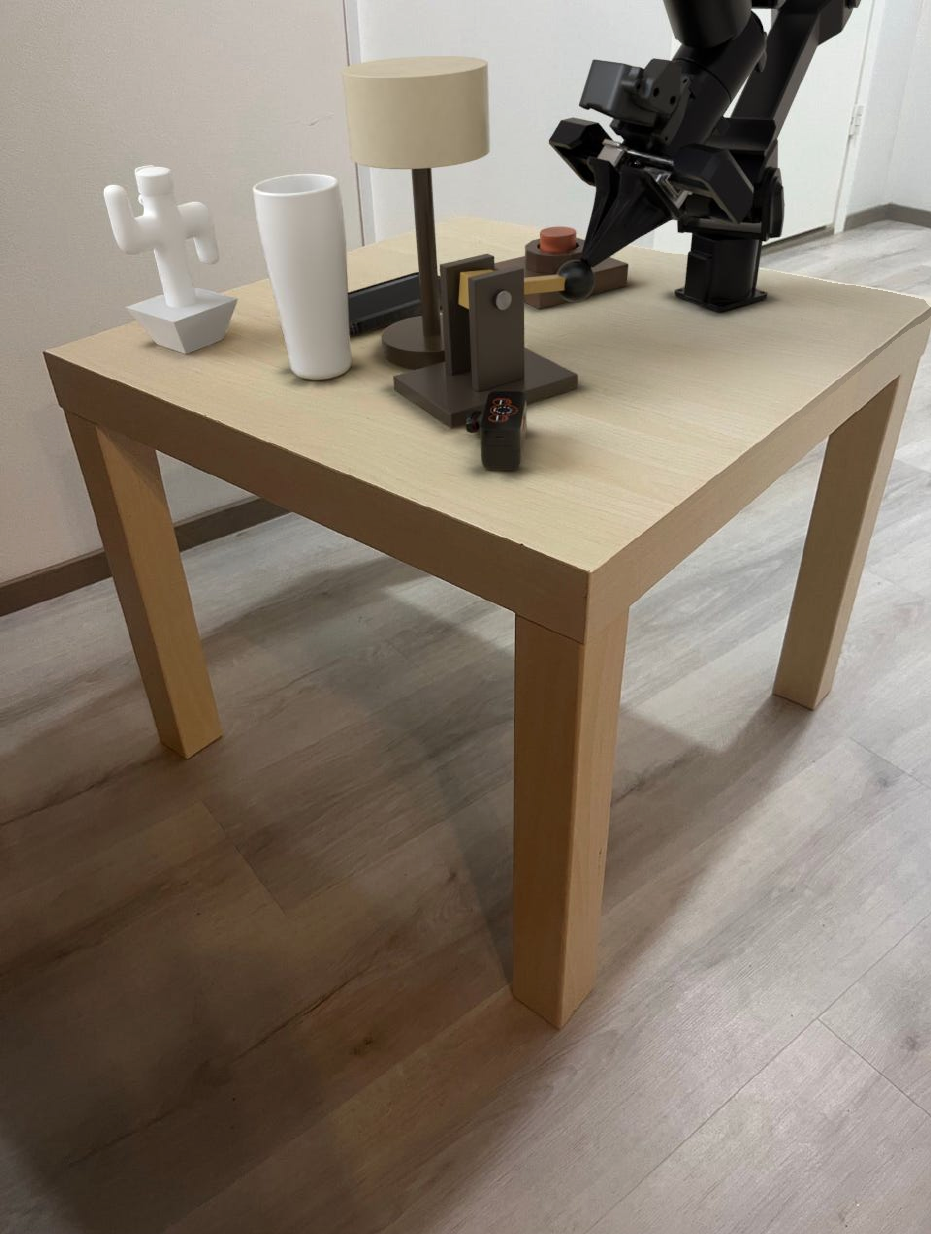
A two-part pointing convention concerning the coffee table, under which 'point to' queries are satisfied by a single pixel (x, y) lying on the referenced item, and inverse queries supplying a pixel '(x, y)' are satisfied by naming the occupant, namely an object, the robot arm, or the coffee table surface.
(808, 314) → the coffee table surface
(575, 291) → the lever
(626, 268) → the switch box
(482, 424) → the wireless earbuds
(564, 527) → the coffee table surface
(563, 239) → the button
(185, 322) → the figurine
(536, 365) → the lamp switch
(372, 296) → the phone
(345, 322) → the drinking glass
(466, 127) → the lamp
